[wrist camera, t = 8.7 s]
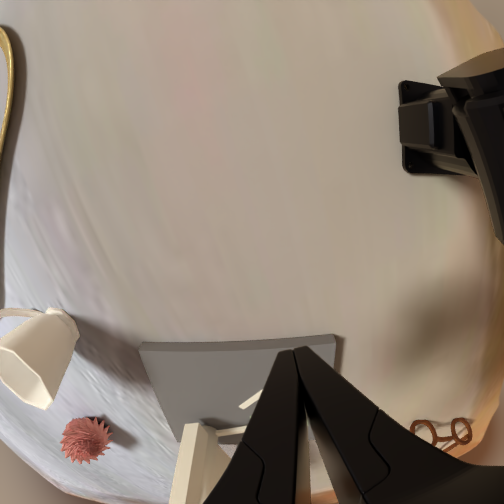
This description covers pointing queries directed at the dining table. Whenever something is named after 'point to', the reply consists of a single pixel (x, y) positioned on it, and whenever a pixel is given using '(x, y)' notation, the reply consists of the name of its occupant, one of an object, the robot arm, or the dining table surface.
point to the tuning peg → (199, 463)
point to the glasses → (449, 438)
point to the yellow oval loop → (3, 41)
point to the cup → (37, 354)
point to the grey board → (218, 379)
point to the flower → (85, 439)
